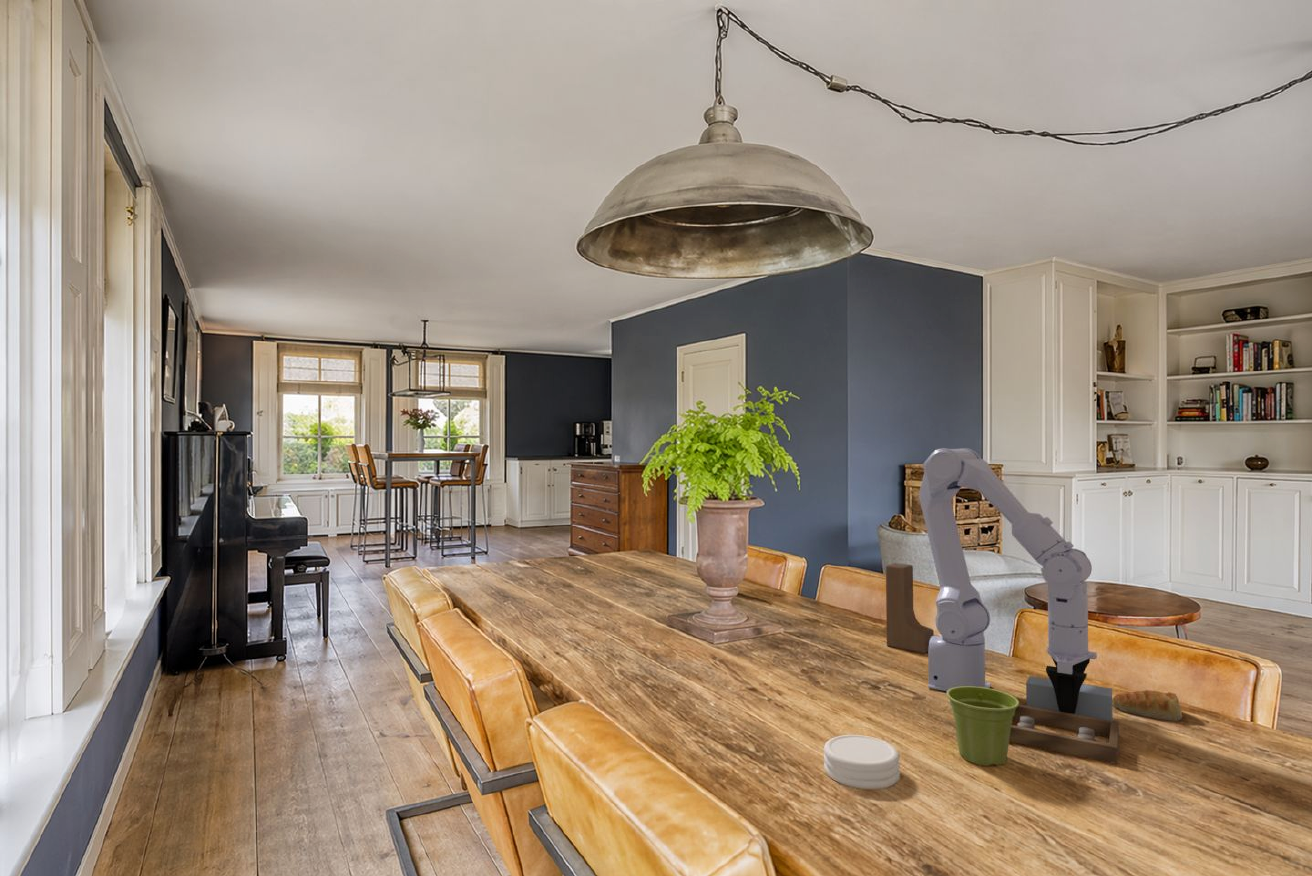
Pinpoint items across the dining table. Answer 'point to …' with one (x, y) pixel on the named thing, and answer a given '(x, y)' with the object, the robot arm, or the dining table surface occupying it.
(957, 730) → the plant pot
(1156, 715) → the pastry
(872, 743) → the coaster
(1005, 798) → the dining table surface
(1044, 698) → the blue-grey rectangular block
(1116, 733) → the peg frame
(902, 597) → the wooden block
